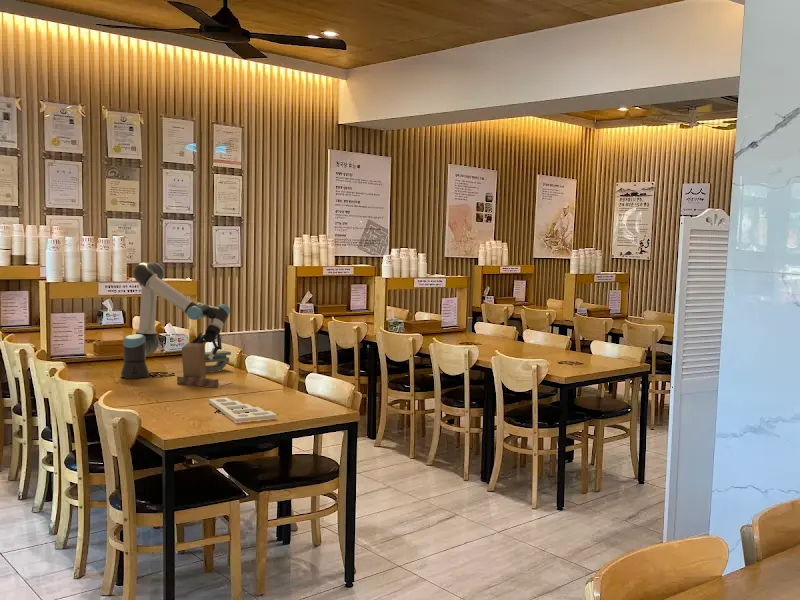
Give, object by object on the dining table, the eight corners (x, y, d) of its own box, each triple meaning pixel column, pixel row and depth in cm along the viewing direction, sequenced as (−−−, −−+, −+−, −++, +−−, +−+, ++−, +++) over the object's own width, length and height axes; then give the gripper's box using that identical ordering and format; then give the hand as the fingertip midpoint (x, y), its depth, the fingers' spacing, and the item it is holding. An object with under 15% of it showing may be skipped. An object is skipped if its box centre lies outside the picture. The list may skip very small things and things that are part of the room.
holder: (208, 404, 351) (208, 399, 351) (245, 401, 360) (245, 395, 360) (235, 425, 312) (235, 418, 312) (276, 420, 321) (276, 414, 321)
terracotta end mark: (199, 384, 398) (199, 383, 398) (213, 380, 409) (213, 380, 409) (219, 386, 393) (219, 385, 393) (232, 382, 404) (232, 382, 404)
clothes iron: (191, 374, 430) (191, 355, 429) (185, 372, 436) (185, 353, 435) (231, 370, 445) (230, 352, 444) (225, 368, 451) (225, 350, 451)
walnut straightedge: (177, 383, 399) (177, 376, 399) (180, 382, 402) (180, 375, 402) (215, 387, 389) (214, 380, 389) (218, 386, 392) (218, 379, 392)
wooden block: (206, 377, 411) (204, 342, 407) (201, 383, 401) (199, 348, 397) (189, 377, 412) (187, 342, 407) (183, 382, 402) (180, 347, 397)
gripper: (236, 333, 417) (221, 363, 405) (199, 331, 427) (183, 360, 414) (230, 325, 412) (215, 355, 399) (192, 323, 421) (177, 352, 409)
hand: (198, 358), depth 407 cm, fingers open, 14 cm apart
